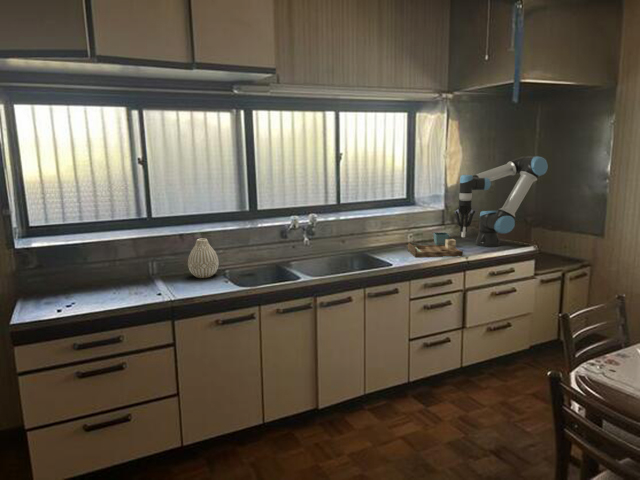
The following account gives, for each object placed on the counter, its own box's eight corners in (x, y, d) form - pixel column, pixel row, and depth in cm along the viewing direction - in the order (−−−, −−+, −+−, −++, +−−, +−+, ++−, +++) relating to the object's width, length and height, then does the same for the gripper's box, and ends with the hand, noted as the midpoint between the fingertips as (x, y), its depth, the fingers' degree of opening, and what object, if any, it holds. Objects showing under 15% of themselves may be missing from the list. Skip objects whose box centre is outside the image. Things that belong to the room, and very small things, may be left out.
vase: (182, 277, 258) (180, 240, 255) (206, 270, 271) (204, 235, 267) (201, 281, 248) (198, 243, 245) (225, 275, 261) (223, 238, 257)
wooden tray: (451, 249, 316) (452, 241, 315) (462, 256, 296) (462, 248, 295) (407, 250, 314) (407, 243, 313) (415, 257, 295) (415, 249, 294)
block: (452, 246, 312) (453, 239, 311) (455, 248, 307) (455, 240, 306) (445, 246, 312) (445, 239, 311) (447, 248, 307) (447, 240, 306)
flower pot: (449, 248, 320) (449, 234, 318) (435, 248, 320) (435, 234, 318) (445, 245, 329) (446, 232, 327) (432, 245, 329) (433, 232, 327)
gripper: (473, 199, 308) (471, 235, 313) (453, 199, 308) (451, 236, 312) (477, 200, 301) (475, 237, 305) (457, 200, 300) (455, 238, 305)
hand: (463, 236), depth 309 cm, fingers closed
